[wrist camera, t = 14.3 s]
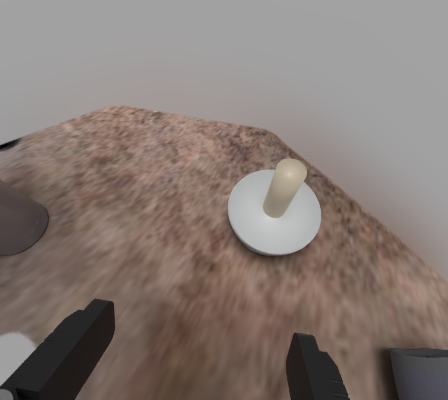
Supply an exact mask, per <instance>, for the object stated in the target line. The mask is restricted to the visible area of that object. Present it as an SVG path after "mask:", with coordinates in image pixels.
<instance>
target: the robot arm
mask: <svg viewBox="0 0 448 400" xmlns="http://www.w3.org/2000/svg"><path fill="white" fill-rule="evenodd" d="M47 223H48V214H47V211H46V209H45V208H44V207H43V206H42V205H40V204H39V203H37V202H35V201H34V200H32V199H31V198H29V197H27V196H26V195H24V194H23V193H21V192H19V191H18V190H16V189H15V188H13V187H11V186H10V185H8V184H6V183H5V182H3V181H2V180H0V255H4V256H5V255H13V254H17V253H19V252H21V251H24V250H26V249H27V248H29V247H30V246H32V245H33V244H34V243H35V242H36V241H37V240H38V239H39V238H40V237H41V236H42V234H43V232H44V231H45V229H46V226H47ZM114 331H115V316H114V303H113V302H112V301H106V300H100V299H94V300H93V301H92V302H91V303H90V304H89V305H88V306H87V307H86V308H85V309H84V311H83V310H77V311H76V312H74V313H73V314H71V315H70V316H68V317H67V318H65V319H64V320H63V321H62V322H61V323H60V324H59V325H58V326H57V327H56V328H55V329H54V331H53V333H51V334H50V335H49V336H48V337H47V338H46V339H45V340H44V342H43V343H41V344H40V345H39V346H38V347H37V349H36V350H35V351H34V352H33V353H32V354H31V355H30V356H29V357H28V358H27V359H26V360H25V361H24V363H22V364H21V366H20V367H19V368H18V369H17V370H16V371H15V372H14V373H13V374H12V375H11V376H10V377H9V378H8V379H7V380H6V381H5V382H4V383H3V384H2V385H1V386H0V400H75V398H76V396H77V395H78V393H79V392H80V390H81V388H82V387H83V385H84V384H85V382H86V380H87V379H88V377H89V376H90V374H91V372H92V371H93V369H94V368H95V366H96V364H97V363H98V361H99V360H100V358H101V357H102V355H103V353H104V352H105V350H106V349H107V347H108V345H109V344H110V342H111V340H112V338H113V335H114ZM286 373H287V380H288V386H289V392H290V397H291V400H350V398H348V393H347V391H346V388H345V386H344V385H343V380H342V378H341V375H340V373H339V370H338V367H337V365H336V364H335V363H334V361H333V360H332V359H331V357H330V356H329V355H328V353H327V352H321V351H319V349H318V346H317V343H316V340H315V338H314V336H313V335H307V334H301V333H294V334H293V338H292V341H291V345H290V348H289V352H288V355H287V360H286Z"/></svg>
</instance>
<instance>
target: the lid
mask: <svg viewBox="0 0 448 400" xmlns="http://www.w3.org/2000/svg"><path fill="white" fill-rule="evenodd" d="M306 175H307V170H306V168H305V166H304V165H303V164H302V163H301V162H300V161H298V160H296V159H291V158H288V159H284V160H281V161H280V162H279V163H278V164H277V167H276V170H261V171H256V172H254V173H251V174H249V175H247V176H245V177H244V178H242V179H241V180H240V181H239V182H238V183H237V184H236V185H235V187H234V188H233V190H232V192H231V194H230V197H229V202H228V216H229V221H230V224H231V226H232V228H233V230H234V232H235V233H236V235H237V236H238V237H239V239H240V240H241V241H243V242H244V243H245V244H246V245H247V246H249V247H250V248H252V249H254V250H256V251H258V252H261V253H264V254H268V255H287V254H291V253H294V252H297V251H299V250H300V249H302V248H304V247H305V246H306V245H307V244H308V243H309V242H311V240H312V239H313V238H314V237H315V235H316V234H317V232H318V229H319V227H320V223H321V209H320V205H319V202H318V200H317V198H316V196H315V194H314V193H313V191H312V190H311V189H310V187H309V186H308V185H307V184H306V183H304V182H303V181H304V179H305V178H306Z"/></svg>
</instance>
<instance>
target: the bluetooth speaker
mask: <svg viewBox="0 0 448 400" xmlns="http://www.w3.org/2000/svg"><path fill="white" fill-rule="evenodd" d="M390 357H391V363H392V369H393V374H394V379H395V383H396V388H397V392H398V396H399V400H448V350H440V349H412V350H406V349H399V348H391V349H390Z"/></svg>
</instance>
